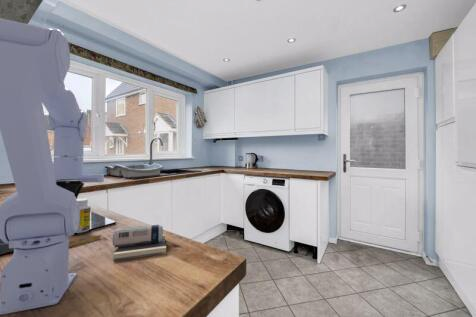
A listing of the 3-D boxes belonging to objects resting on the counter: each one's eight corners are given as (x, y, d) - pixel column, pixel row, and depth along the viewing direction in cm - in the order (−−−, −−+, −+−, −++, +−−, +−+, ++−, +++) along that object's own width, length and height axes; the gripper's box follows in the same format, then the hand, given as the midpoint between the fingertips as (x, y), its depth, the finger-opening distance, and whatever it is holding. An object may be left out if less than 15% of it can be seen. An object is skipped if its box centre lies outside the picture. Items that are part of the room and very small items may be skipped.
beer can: (112, 252, 54) (162, 245, 58) (111, 234, 53) (162, 229, 57) (115, 241, 59) (162, 236, 63) (115, 225, 58) (162, 221, 62)
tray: (166, 253, 54) (166, 247, 54) (113, 260, 50) (113, 254, 50) (164, 239, 63) (164, 234, 63) (119, 244, 59) (119, 239, 59)
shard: (101, 240, 63) (102, 234, 63) (87, 251, 56) (87, 244, 56) (61, 241, 62) (61, 235, 62) (41, 253, 54) (41, 246, 54)
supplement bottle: (85, 233, 67) (85, 201, 67) (65, 234, 66) (65, 201, 66) (93, 228, 73) (93, 197, 73) (74, 229, 71) (74, 198, 72)
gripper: (106, 157, 59) (106, 207, 59) (40, 156, 54) (39, 210, 54) (100, 157, 52) (99, 213, 52) (23, 156, 47) (22, 218, 47)
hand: (68, 212), depth 52 cm, fingers closed
